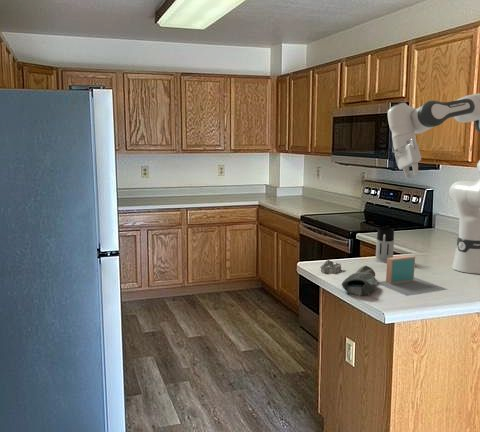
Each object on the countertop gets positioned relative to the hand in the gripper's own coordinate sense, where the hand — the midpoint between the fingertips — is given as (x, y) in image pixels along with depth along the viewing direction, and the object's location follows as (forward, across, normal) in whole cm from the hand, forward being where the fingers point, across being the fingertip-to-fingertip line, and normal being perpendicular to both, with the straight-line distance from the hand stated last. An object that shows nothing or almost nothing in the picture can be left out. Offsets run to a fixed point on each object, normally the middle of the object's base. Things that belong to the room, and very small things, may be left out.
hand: (412, 176), depth 203 cm
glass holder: (+34, +36, +10) cm, 51 cm away
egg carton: (+32, +19, +37) cm, 53 cm away
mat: (+42, -2, +11) cm, 44 cm away
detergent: (+39, -4, +30) cm, 49 cm away
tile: (+40, +2, +13) cm, 42 cm away
